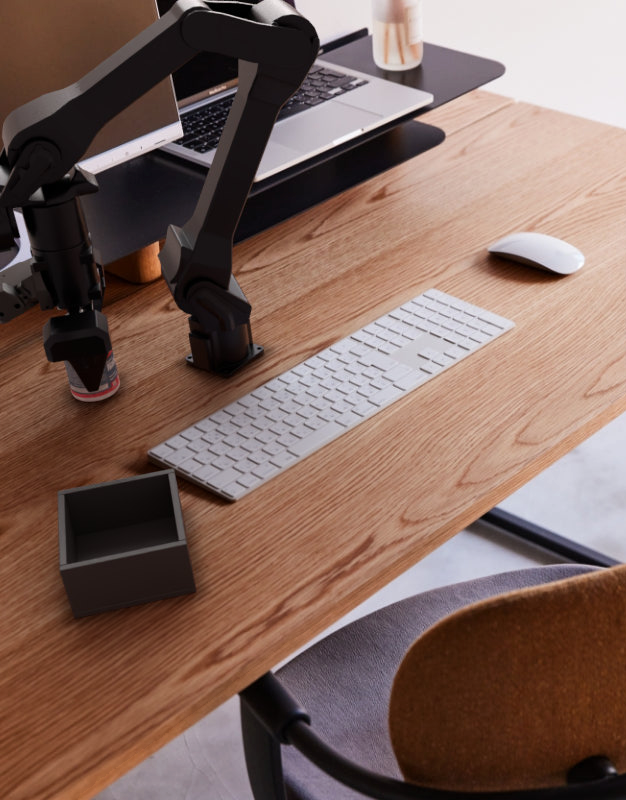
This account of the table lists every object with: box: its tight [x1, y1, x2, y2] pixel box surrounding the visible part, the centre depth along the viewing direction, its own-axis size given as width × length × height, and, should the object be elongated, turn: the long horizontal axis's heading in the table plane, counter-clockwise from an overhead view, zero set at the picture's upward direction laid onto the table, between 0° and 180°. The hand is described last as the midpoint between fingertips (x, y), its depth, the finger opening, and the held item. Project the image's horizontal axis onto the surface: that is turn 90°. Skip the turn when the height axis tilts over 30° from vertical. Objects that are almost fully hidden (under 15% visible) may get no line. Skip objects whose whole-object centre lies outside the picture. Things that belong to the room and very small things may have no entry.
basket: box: [56, 468, 197, 620], centre depth 92 cm, size 10×10×6 cm
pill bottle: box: [63, 309, 121, 403], centre depth 113 cm, size 5×5×9 cm
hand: (91, 369), depth 114 cm, fingers open, 8 cm apart
